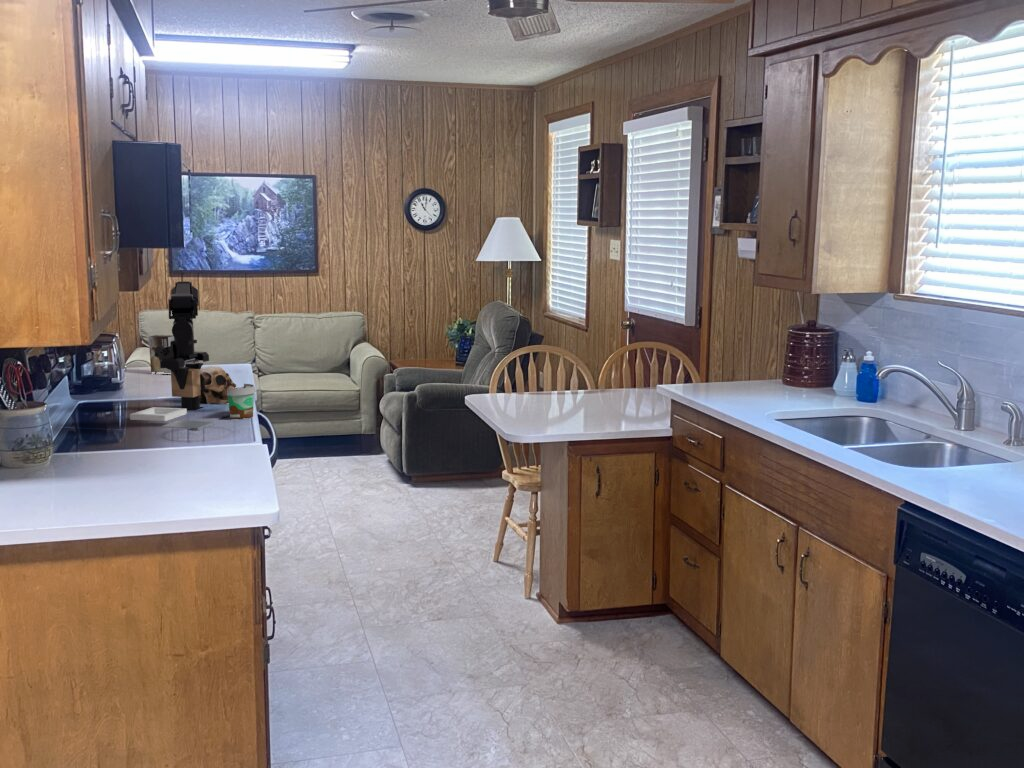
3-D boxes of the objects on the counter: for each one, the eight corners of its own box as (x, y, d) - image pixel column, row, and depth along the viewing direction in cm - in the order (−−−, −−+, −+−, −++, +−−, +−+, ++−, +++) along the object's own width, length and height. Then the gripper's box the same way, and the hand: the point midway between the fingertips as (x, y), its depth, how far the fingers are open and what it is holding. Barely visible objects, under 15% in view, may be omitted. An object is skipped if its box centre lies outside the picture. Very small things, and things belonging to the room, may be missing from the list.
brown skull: (244, 402, 343) (238, 364, 341) (193, 411, 336) (186, 372, 334) (236, 397, 358) (230, 361, 355) (187, 405, 351) (181, 368, 348)
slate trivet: (179, 422, 307) (179, 420, 307) (214, 424, 305) (214, 421, 305) (161, 428, 297) (161, 426, 297) (197, 430, 295) (197, 427, 295)
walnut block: (180, 394, 303) (178, 368, 301) (200, 394, 301) (199, 369, 300) (172, 396, 298) (170, 370, 297) (193, 397, 297) (191, 371, 296)
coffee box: (178, 373, 416) (176, 335, 414) (170, 375, 410) (168, 336, 408) (158, 372, 418) (156, 334, 416) (150, 374, 412) (148, 336, 409)
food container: (246, 421, 310) (244, 389, 308) (228, 420, 311) (226, 389, 310) (263, 414, 322) (262, 384, 320) (246, 413, 323) (244, 383, 322)
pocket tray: (153, 414, 322) (153, 407, 321) (186, 415, 319) (186, 408, 319) (130, 421, 309) (129, 414, 309) (164, 423, 307) (164, 415, 306)
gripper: (176, 333, 308) (178, 382, 310) (142, 339, 290) (145, 391, 292) (208, 334, 305) (211, 383, 308) (176, 340, 287) (179, 393, 290)
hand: (186, 388), depth 299 cm, fingers closed on walnut block, 4 cm apart
